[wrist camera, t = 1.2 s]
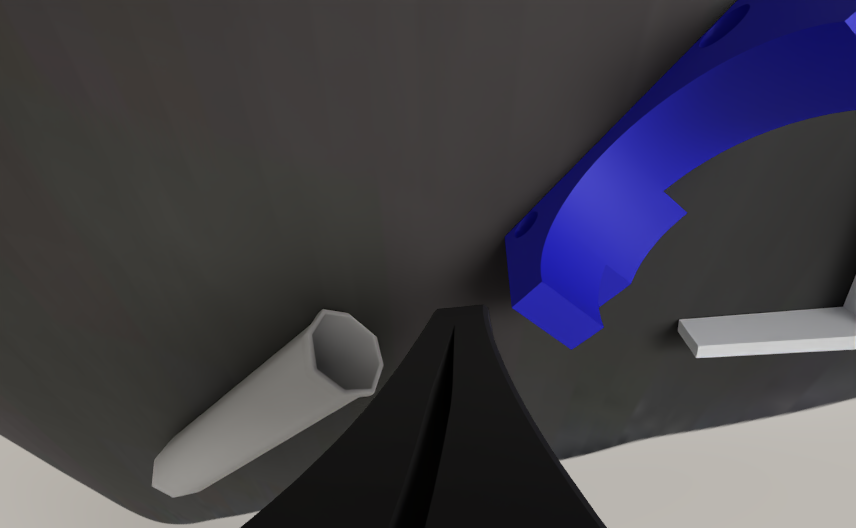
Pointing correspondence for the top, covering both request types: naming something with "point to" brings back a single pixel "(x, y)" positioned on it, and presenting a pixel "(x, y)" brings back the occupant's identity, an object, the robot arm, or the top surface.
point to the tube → (273, 403)
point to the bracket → (773, 331)
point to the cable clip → (675, 153)
